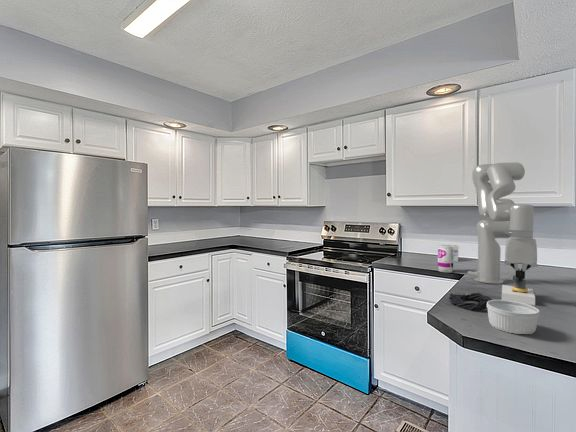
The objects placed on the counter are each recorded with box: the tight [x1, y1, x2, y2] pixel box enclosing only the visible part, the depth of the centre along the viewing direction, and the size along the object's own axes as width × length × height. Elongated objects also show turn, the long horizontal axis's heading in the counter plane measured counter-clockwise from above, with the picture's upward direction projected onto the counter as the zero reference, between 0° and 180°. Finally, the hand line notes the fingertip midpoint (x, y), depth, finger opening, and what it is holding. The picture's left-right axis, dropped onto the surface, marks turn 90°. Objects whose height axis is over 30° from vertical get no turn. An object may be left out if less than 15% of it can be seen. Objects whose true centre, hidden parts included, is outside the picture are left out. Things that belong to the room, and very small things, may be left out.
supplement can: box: [437, 244, 454, 274], centre depth 180 cm, size 8×8×15 cm
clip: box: [505, 272, 516, 281], centre depth 128 cm, size 3×12×2 cm, turn 126°
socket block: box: [501, 284, 536, 306], centre depth 126 cm, size 10×16×8 cm, turn 144°
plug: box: [511, 278, 529, 293], centre depth 126 cm, size 5×5×8 cm
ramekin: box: [487, 299, 540, 335], centre depth 94 cm, size 13×13×7 cm
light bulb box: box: [446, 244, 459, 262], centre depth 218 cm, size 11×7×11 cm, turn 67°
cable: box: [448, 292, 493, 312], centre depth 117 cm, size 17×14×4 cm
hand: (520, 280), depth 123 cm, fingers closed
